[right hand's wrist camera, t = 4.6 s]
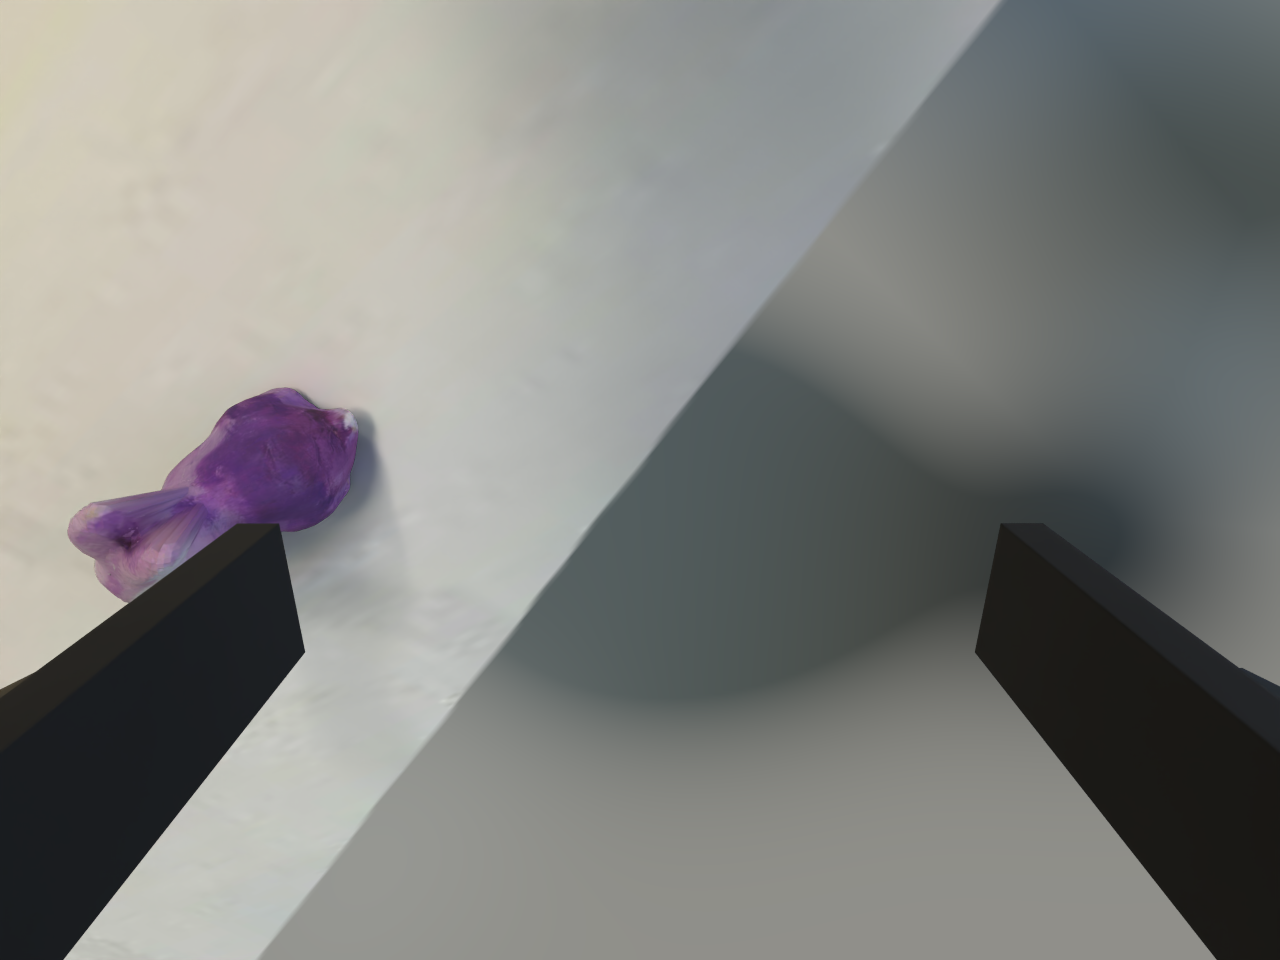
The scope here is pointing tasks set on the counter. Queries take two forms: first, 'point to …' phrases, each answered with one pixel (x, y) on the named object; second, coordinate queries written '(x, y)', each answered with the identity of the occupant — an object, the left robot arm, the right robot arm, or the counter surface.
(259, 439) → the figurine
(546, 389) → the counter surface
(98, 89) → the counter surface
